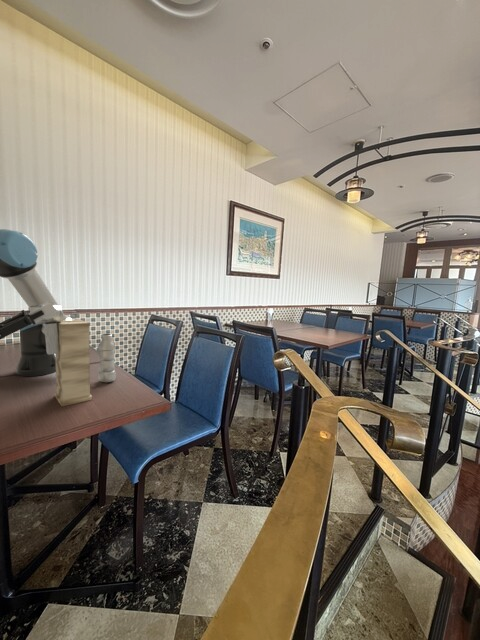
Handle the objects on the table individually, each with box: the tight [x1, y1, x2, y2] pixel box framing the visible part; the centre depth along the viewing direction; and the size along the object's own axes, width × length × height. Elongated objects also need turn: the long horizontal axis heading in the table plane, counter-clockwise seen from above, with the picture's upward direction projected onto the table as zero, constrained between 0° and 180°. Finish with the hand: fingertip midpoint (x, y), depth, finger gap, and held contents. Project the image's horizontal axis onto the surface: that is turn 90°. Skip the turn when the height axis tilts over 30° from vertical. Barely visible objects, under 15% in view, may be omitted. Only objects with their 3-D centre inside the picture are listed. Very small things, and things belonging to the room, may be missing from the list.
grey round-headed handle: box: [24, 303, 64, 355], centre depth 85 cm, size 6×16×9 cm
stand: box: [54, 319, 93, 407], centre depth 91 cm, size 11×9×27 cm
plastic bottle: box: [97, 333, 117, 383], centre depth 109 cm, size 6×7×20 cm
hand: (51, 305), depth 85 cm, fingers closed on grey round-headed handle, 6 cm apart
